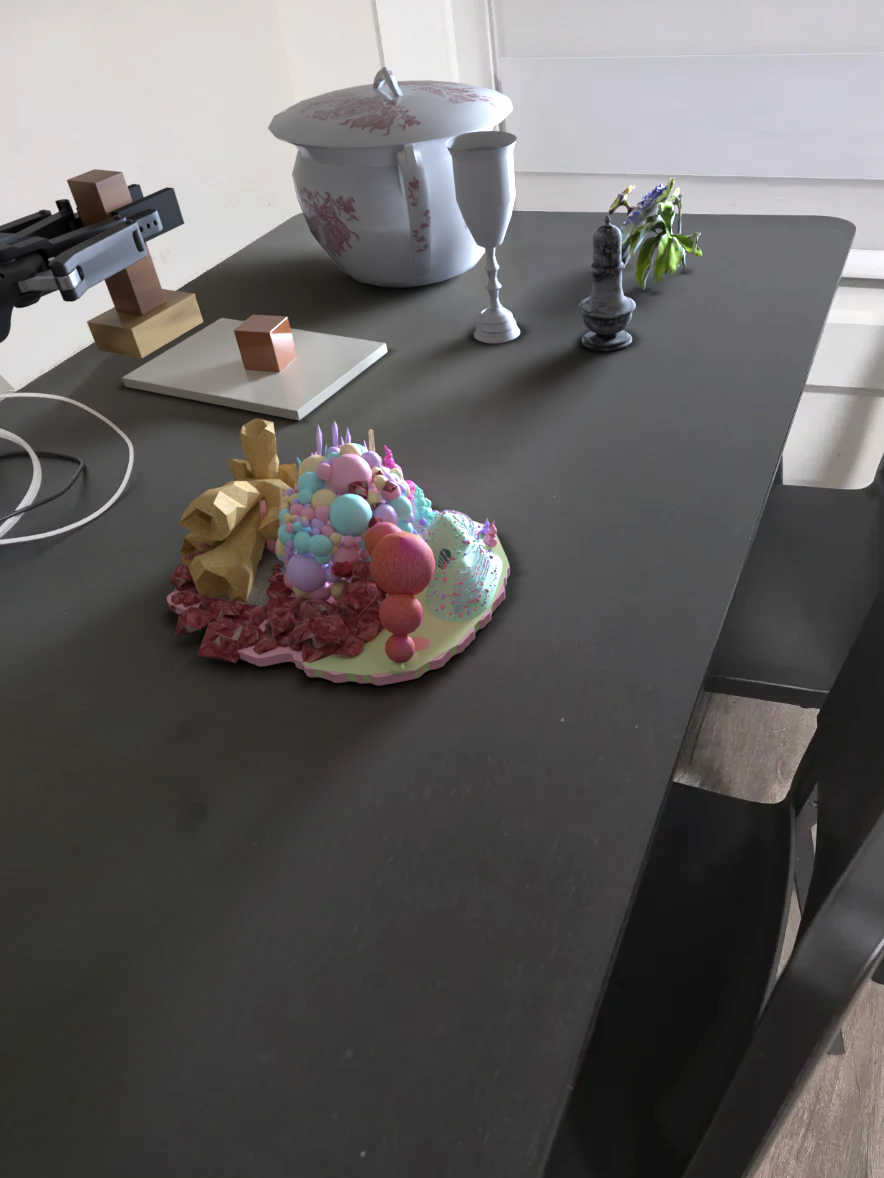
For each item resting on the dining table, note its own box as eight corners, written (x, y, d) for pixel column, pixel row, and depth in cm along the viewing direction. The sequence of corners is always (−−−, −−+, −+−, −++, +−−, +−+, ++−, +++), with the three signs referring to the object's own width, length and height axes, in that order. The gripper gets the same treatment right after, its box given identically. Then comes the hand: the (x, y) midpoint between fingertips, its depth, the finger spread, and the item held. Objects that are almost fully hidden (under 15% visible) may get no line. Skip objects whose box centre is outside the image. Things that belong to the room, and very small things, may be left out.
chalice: (465, 322, 100) (445, 133, 87) (526, 317, 100) (514, 128, 87) (466, 349, 94) (444, 153, 82) (530, 344, 95) (518, 148, 82)
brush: (97, 350, 77) (32, 188, 68) (161, 315, 82) (107, 159, 73) (141, 358, 76) (80, 193, 67) (203, 322, 81) (154, 163, 72)
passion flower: (622, 313, 113) (613, 211, 111) (709, 297, 110) (702, 192, 108) (605, 289, 102) (595, 175, 100) (702, 270, 99) (693, 152, 97)
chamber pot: (381, 223, 125) (352, 40, 110) (559, 243, 116) (552, 46, 101) (254, 297, 108) (199, 91, 93) (451, 327, 99) (424, 104, 84)
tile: (125, 386, 92) (121, 377, 92) (224, 326, 102) (221, 317, 102) (299, 420, 85) (296, 411, 84) (387, 352, 95) (386, 342, 94)
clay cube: (244, 369, 91) (233, 330, 89) (262, 353, 94) (252, 314, 91) (280, 372, 91) (269, 332, 88) (297, 355, 93) (287, 316, 90)
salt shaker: (573, 350, 93) (570, 224, 84) (585, 327, 97) (583, 204, 88) (629, 353, 92) (632, 226, 83) (639, 330, 96) (642, 206, 87)
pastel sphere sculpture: (118, 665, 61) (59, 553, 55) (254, 483, 77) (222, 380, 71) (471, 699, 57) (454, 582, 51) (538, 499, 73) (532, 391, 67)
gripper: (-122, 347, 67) (105, 242, 81) (33, 379, 61) (246, 260, 76) (-186, 238, 61) (70, 146, 76) (-22, 263, 56) (220, 159, 71)
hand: (158, 203), depth 76 cm, fingers closed on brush, 3 cm apart
